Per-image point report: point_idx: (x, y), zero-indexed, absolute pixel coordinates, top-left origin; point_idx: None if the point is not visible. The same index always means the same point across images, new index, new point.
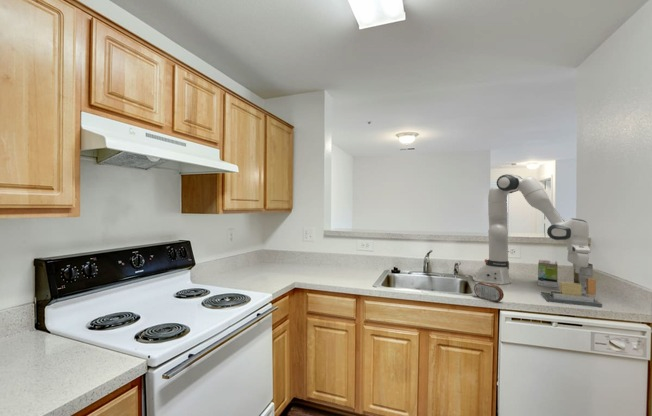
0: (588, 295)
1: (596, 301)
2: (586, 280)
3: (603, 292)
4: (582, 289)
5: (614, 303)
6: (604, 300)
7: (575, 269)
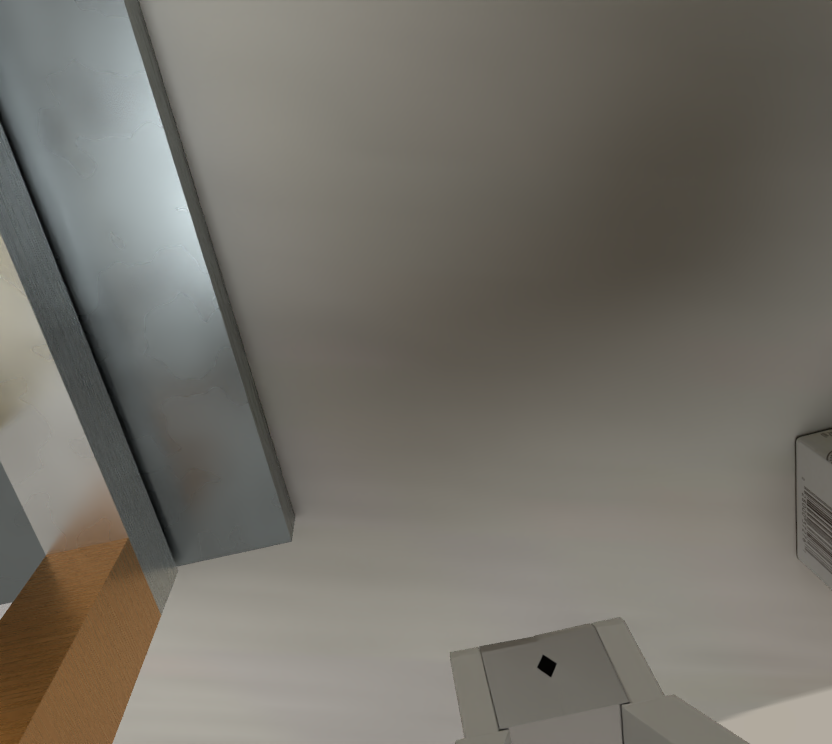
0: (52, 546)
1: (13, 582)
2: (13, 733)
3: (805, 647)
4: (809, 474)
5: (259, 700)
6: (351, 633)
7: (472, 736)
